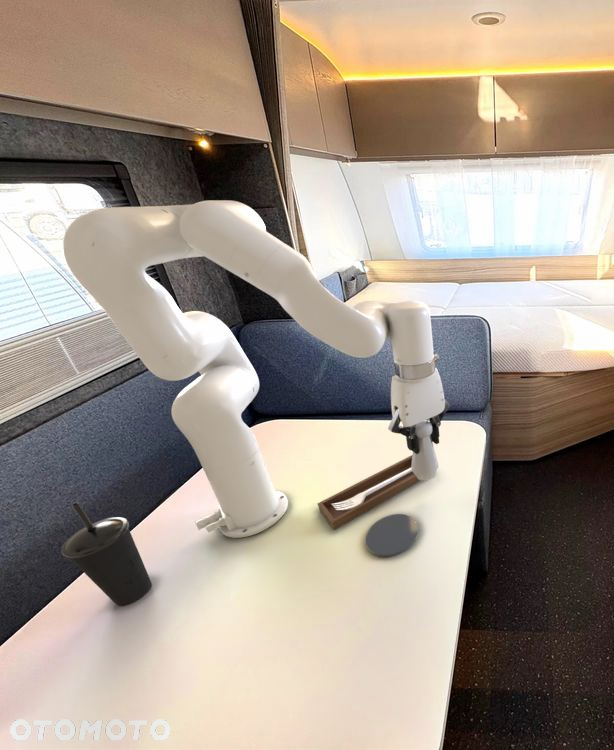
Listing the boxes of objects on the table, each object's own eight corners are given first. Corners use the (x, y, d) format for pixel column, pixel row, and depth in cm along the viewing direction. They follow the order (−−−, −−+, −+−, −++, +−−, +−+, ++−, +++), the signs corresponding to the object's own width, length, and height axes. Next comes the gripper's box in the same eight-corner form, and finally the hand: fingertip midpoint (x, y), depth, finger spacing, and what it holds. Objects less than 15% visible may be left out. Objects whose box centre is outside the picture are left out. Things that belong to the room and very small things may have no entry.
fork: (420, 471, 92) (419, 465, 91) (338, 517, 79) (336, 510, 79) (413, 465, 94) (412, 459, 93) (332, 509, 82) (330, 502, 81)
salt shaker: (433, 485, 81) (429, 432, 76) (407, 481, 82) (402, 429, 77) (442, 468, 87) (439, 418, 81) (418, 465, 88) (414, 415, 82)
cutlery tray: (333, 530, 77) (331, 522, 76) (319, 510, 82) (317, 503, 81) (431, 474, 92) (430, 467, 91) (414, 460, 97) (413, 454, 96)
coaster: (382, 566, 69) (381, 564, 69) (357, 535, 76) (356, 533, 75) (428, 535, 75) (428, 532, 75) (402, 508, 82) (401, 506, 82)
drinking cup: (94, 622, 62) (24, 531, 53) (115, 583, 68) (55, 495, 59) (153, 603, 64) (95, 513, 56) (167, 566, 71) (118, 481, 62)
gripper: (439, 350, 82) (445, 424, 89) (365, 374, 71) (379, 455, 79) (461, 360, 77) (466, 437, 84) (384, 387, 66) (398, 472, 74)
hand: (424, 445), depth 81 cm, fingers closed on salt shaker, 4 cm apart
